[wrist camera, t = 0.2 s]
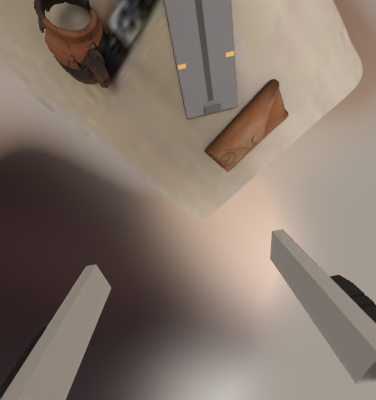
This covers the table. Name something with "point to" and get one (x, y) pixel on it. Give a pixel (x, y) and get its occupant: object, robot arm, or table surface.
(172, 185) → the table surface
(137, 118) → the table surface
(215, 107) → the grey slotted slider track
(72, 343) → the robot arm
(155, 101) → the table surface
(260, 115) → the sunglasses case
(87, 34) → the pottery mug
